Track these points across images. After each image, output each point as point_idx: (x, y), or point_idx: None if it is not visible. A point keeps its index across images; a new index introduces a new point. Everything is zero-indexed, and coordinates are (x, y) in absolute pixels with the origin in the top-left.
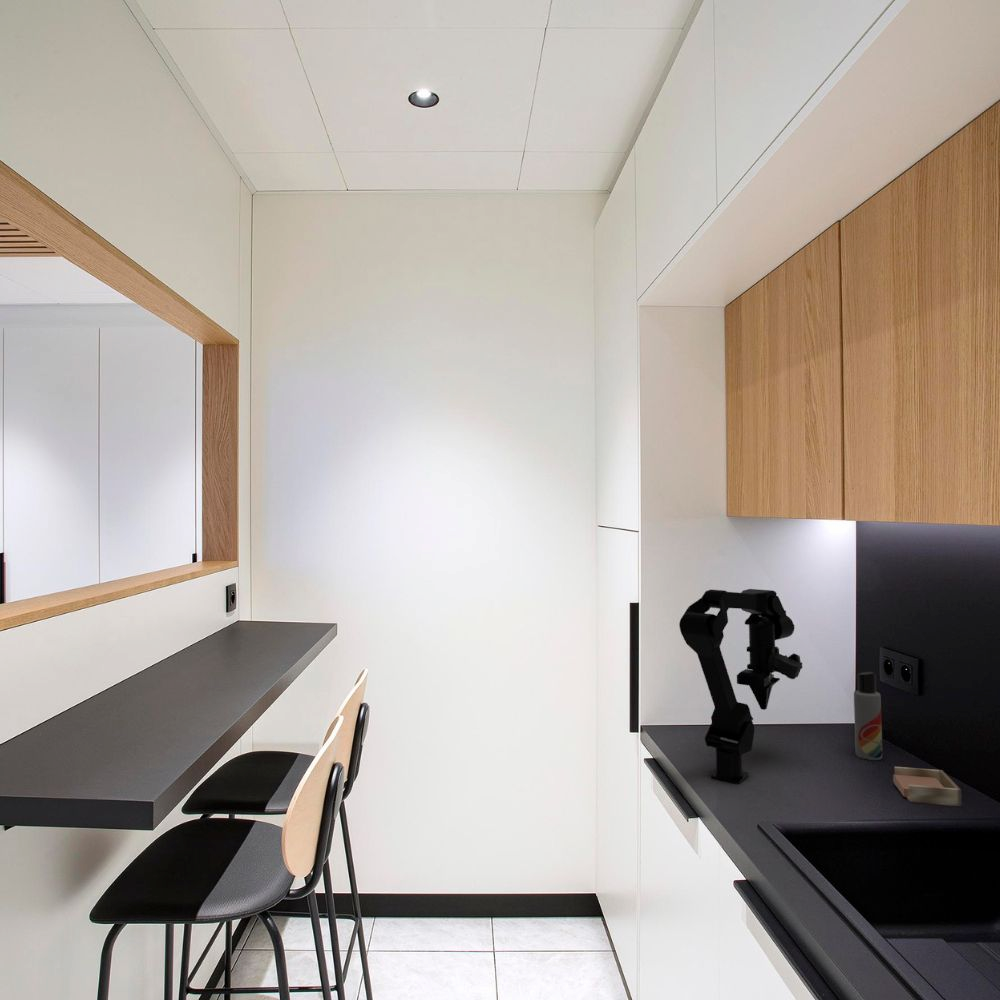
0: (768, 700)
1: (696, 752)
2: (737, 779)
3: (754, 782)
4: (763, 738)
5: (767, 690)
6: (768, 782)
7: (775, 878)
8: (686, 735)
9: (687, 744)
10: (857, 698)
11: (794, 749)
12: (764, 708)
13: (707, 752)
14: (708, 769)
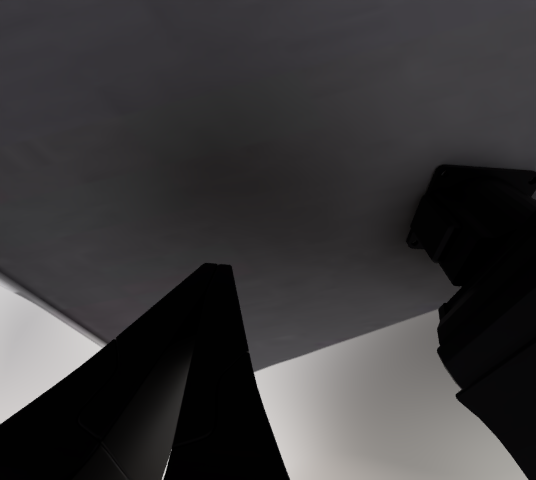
0: (165, 300)
1: (291, 309)
2: (521, 182)
3: (505, 130)
4: (50, 205)
5: (239, 443)
6: (496, 83)
7: None
8: None
9: (246, 331)
10: None
11: (60, 83)
12: (231, 274)
13: (277, 292)
14: (412, 265)
